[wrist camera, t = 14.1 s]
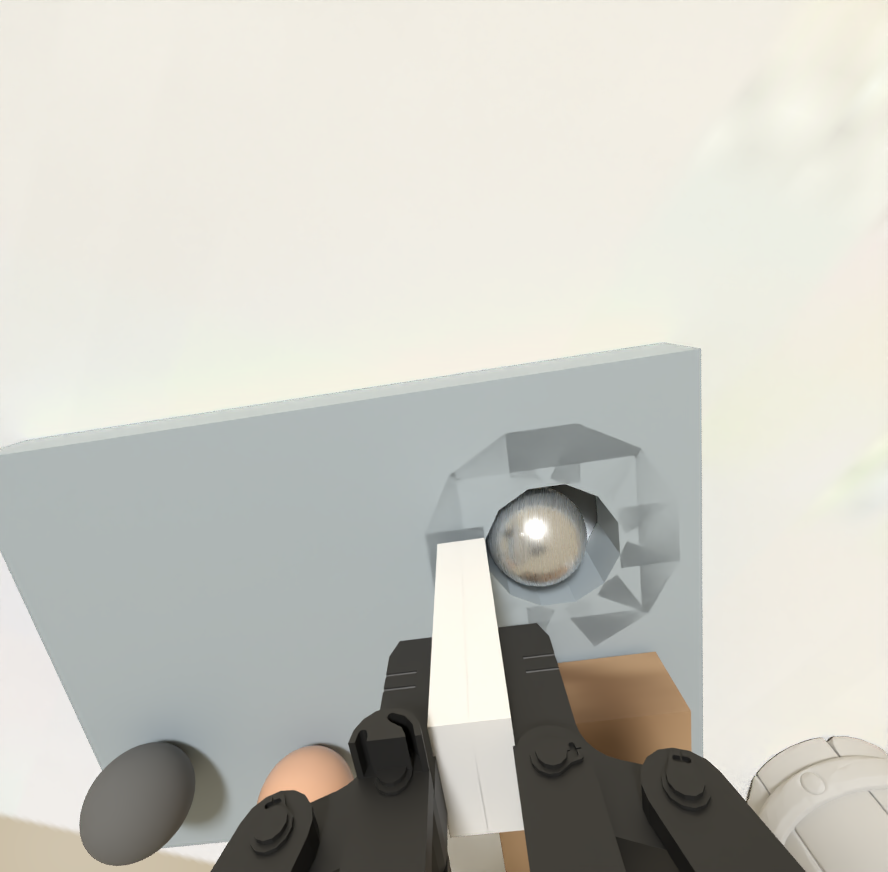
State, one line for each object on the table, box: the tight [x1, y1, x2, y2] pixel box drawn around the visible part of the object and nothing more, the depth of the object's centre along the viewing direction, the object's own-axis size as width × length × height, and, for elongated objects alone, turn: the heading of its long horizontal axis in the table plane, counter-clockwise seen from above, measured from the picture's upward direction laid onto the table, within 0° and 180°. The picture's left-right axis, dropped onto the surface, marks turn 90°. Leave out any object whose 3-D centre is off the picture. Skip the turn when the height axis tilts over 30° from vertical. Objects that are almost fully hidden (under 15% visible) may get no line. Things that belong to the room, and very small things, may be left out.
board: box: [0, 343, 703, 848], centre depth 18 cm, size 24×18×2 cm
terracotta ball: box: [257, 745, 354, 804], centre depth 17 cm, size 4×4×4 cm
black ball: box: [79, 742, 195, 866], centre depth 17 cm, size 4×4×4 cm
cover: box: [499, 652, 692, 872], centre depth 16 cm, size 6×6×4 cm
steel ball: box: [487, 487, 587, 587], centre depth 16 cm, size 4×4×4 cm
